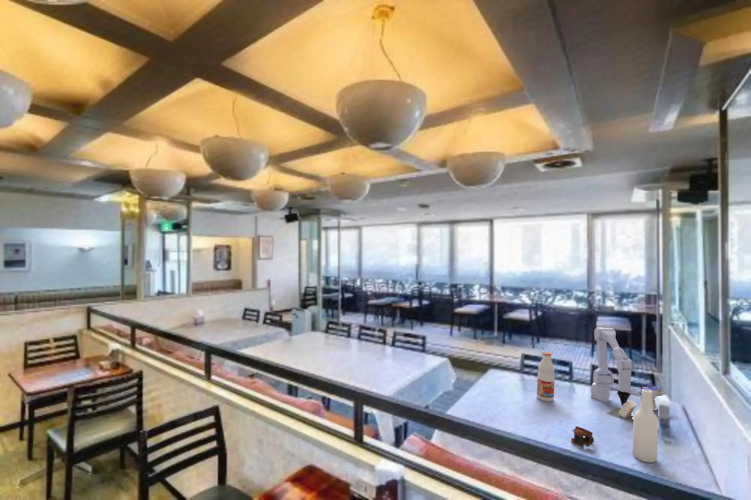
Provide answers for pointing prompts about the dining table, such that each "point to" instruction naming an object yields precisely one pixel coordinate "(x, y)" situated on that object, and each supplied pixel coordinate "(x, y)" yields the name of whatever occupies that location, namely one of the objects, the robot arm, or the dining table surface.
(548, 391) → the fruit juice
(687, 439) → the dining table surface
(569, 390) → the dining table surface
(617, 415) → the mat
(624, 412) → the sign slab
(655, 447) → the alcohol
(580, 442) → the pottery mug
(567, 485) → the dining table surface
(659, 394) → the ink cartridge box
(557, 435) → the dining table surface
